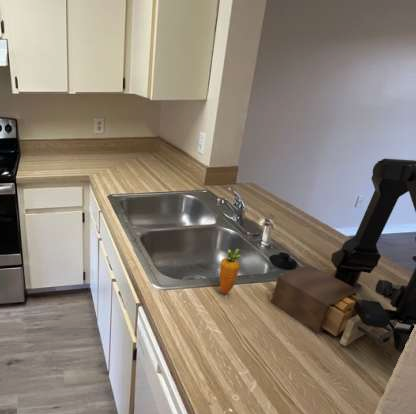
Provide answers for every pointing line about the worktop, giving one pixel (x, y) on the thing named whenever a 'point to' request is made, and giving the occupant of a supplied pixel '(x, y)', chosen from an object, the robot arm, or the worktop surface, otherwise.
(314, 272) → the cabinet
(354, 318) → the drawer
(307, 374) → the worktop surface
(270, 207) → the worktop surface
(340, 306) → the wooden gear wheel
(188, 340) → the worktop surface
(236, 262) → the carrot
